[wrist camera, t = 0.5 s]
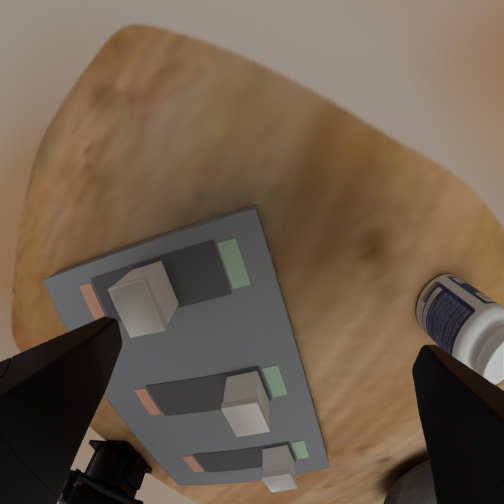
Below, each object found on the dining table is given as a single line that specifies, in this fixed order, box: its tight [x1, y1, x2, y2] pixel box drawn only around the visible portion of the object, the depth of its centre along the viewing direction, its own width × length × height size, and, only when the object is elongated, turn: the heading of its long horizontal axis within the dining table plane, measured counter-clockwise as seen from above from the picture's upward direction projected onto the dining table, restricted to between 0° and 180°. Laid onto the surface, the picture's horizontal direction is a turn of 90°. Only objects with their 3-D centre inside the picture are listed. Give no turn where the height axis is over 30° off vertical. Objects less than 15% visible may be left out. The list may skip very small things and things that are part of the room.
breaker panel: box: [44, 205, 330, 485], centre depth 24 cm, size 18×28×2 cm, turn 17°
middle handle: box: [221, 371, 270, 437], centre depth 20 cm, size 2×3×4 cm
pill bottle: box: [416, 274, 504, 385], centre depth 17 cm, size 5×5×10 cm
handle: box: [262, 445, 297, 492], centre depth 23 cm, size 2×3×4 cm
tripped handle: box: [108, 261, 179, 338], centre depth 18 cm, size 2×3×4 cm
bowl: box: [384, 459, 437, 504], centre depth 25 cm, size 15×15×10 cm
